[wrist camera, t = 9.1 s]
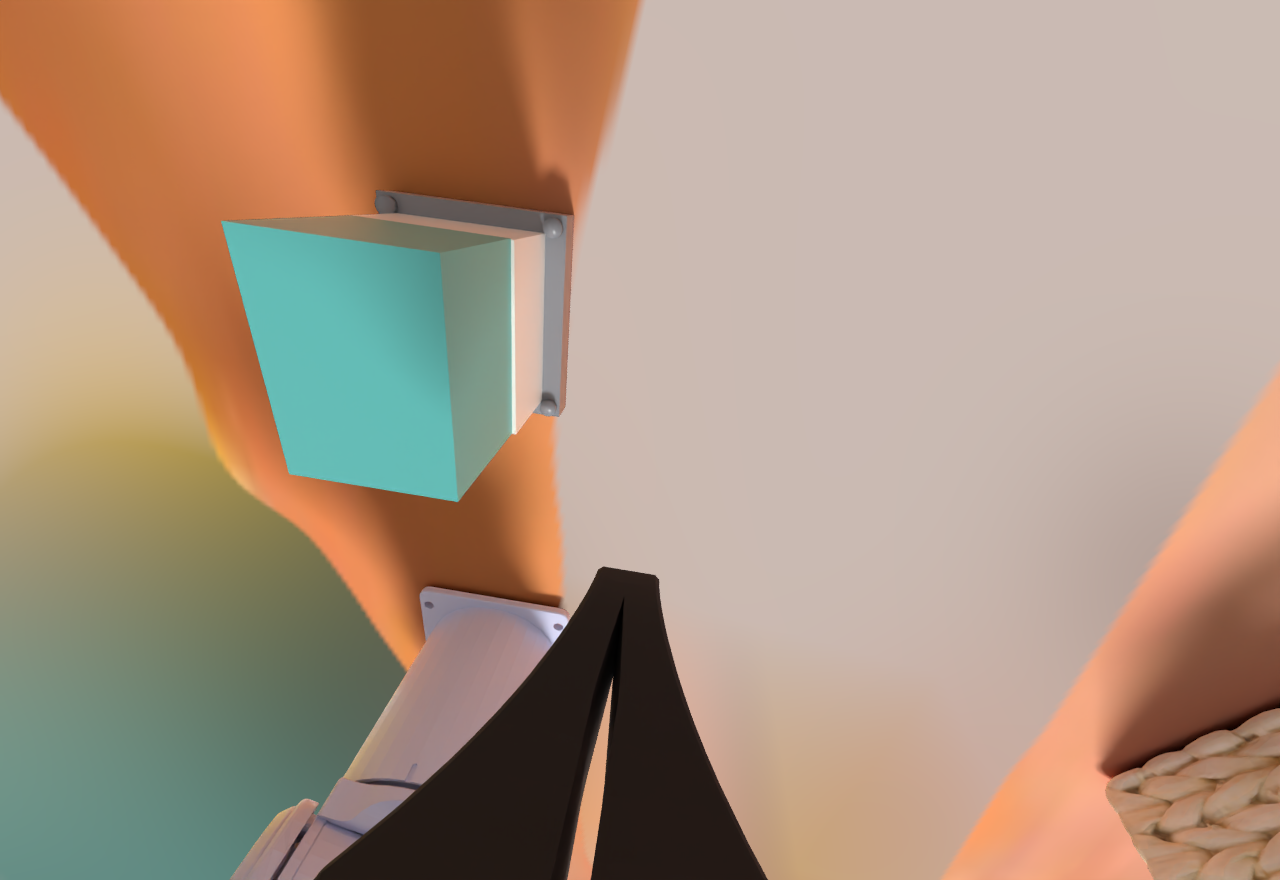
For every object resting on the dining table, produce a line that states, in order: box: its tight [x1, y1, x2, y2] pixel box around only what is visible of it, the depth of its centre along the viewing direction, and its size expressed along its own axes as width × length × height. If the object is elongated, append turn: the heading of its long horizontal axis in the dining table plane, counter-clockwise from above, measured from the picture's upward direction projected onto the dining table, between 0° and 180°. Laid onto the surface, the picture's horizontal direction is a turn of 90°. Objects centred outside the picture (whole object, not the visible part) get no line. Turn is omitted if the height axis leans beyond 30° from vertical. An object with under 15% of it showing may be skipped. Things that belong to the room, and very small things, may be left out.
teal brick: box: [221, 215, 512, 502], centre depth 12 cm, size 6×4×4 cm
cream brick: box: [343, 213, 545, 434], centre depth 16 cm, size 6×5×3 cm
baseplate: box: [375, 190, 574, 417], centre depth 17 cm, size 7×6×1 cm
